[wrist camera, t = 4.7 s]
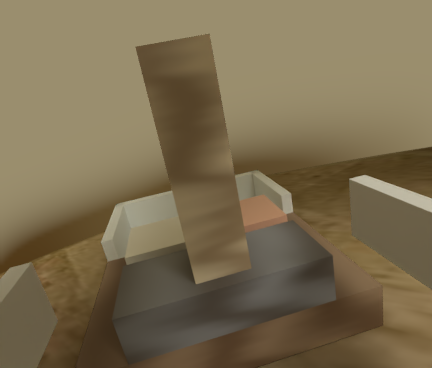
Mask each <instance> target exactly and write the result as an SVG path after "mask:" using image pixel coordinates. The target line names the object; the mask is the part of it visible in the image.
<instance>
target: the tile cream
mask: <svg viewBox="0 0 432 368" xmlns="http://www.w3.org/2000/svg"><path fill="white" fill-rule="evenodd" d="M184 249H187V248H186V244H185V240H184V236H183V232H182V228H181V224H180V220H179V216H177V217H173V218H169V219H165V220H161V221H157V222H154V223H150V224H146V225H142V226H138V227H134V228H131V230H130V235H129V240H128V245H127V249H126V254H125V261H126V264H127V265H129V264H132V263H136V262H140V261H143V260H147V259H151V258H155V257H158V256H162V255H166V254H169V253H173V252H177V251H180V250H184Z"/></svg>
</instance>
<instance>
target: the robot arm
mask: <svg viewBox="0 0 432 368" xmlns="http://www.w3.org/2000/svg"><path fill="white" fill-rule="evenodd" d="M349 186H350V205H351V224H352V235H353V236H354V237H356V238H357V239H358V240H360V241H361V242H363V243H364V244H366V245H367V246H369V247H370V248H372V249H373V250H375V251H376V252H377V253H379V254H380V255H382V256H383V257H385V258H386V259H388V260H389V261H391V262H392V263H394V264H395V265H396V266H398V267H399V268H401V269H402V270H404V271H405V272H407V273H408V274H410V275H411V276H413V277H414V278H415V279H417V280H418V281H420V282H421V283H423V284H424V285H426V286H427V287H429V288H430V289H432V198H429V197H426V196H423V195H420V194H417V193H415V192H412V191H409V190H406V189H403V188H401V187H398V186H395V185H392V184H389V183H386V182H384V181H381V180H378V179H375V178H372V177H370V176H367V175H363V176H359V177H355V178H351V179H349ZM57 322H58V320H57V317H56V315H55V313H54V311H53V309H52V306H51V304H50V302H49V300H48V297H47V295H46V293H45V291H44V289H43V286H42V284H41V282H40V280H39V278H38V275H37V273H36V271H35V269H34V266H33V264H32V262H31V263H27V264H24V265H20V266H16V267H12V268H10V269H9V270H8V271H7V272H6V273H5V274H4V276H3V277H2V278H1V279H0V368H37V367H38V365H39V362H40V360H41V358H42V356H43V353H44V351H45V349H46V347H47V344H48V342H49V340H50V338H51V335H52V333H53V331H54V329H55V326H56V324H57Z"/></svg>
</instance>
